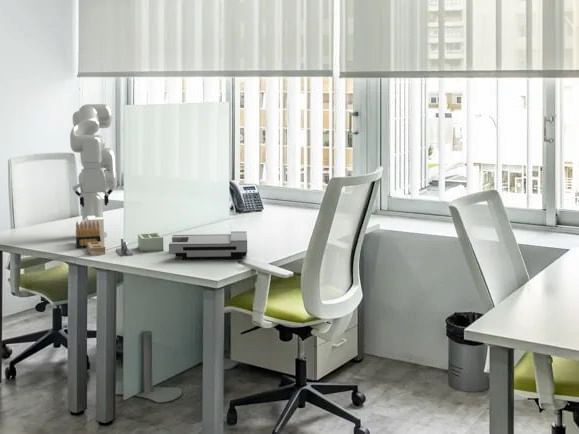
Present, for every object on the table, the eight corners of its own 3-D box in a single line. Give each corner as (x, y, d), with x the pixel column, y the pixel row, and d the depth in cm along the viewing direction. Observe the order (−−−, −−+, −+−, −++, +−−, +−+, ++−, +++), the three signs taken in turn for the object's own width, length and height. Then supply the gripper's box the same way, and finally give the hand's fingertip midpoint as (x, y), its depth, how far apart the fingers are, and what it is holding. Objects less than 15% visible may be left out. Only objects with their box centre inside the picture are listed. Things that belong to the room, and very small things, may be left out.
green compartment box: (138, 247, 333) (137, 234, 332) (158, 245, 337) (157, 232, 336) (142, 252, 323) (142, 238, 322) (163, 250, 326) (163, 237, 325)
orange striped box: (104, 245, 337) (103, 219, 335) (78, 246, 334) (77, 220, 332) (103, 240, 348) (102, 215, 345) (78, 242, 344) (76, 216, 342)
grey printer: (173, 250, 328) (172, 232, 327) (246, 249, 331) (246, 231, 329) (169, 261, 308) (168, 242, 306) (247, 260, 310) (247, 241, 309)
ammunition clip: (76, 248, 331) (74, 221, 328) (76, 247, 332) (74, 221, 330) (101, 247, 333) (100, 220, 331) (101, 246, 335) (100, 220, 333)
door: (87, 249, 329) (87, 242, 329) (101, 248, 331) (101, 241, 331) (91, 255, 317) (90, 248, 317) (105, 254, 320) (105, 247, 319)
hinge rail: (116, 249, 328) (115, 238, 327) (127, 249, 330) (127, 237, 329) (120, 256, 316) (120, 244, 315) (132, 255, 318) (132, 243, 317)
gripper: (112, 164, 324) (113, 203, 327) (70, 165, 318) (72, 205, 321) (114, 166, 317) (116, 205, 320) (72, 167, 311) (74, 208, 314)
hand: (94, 205), depth 321 cm, fingers open, 9 cm apart
